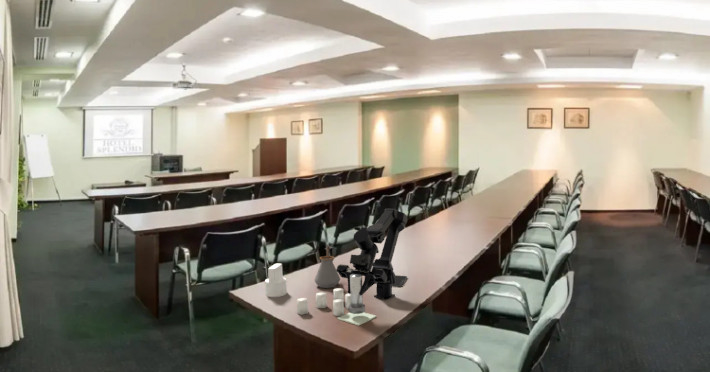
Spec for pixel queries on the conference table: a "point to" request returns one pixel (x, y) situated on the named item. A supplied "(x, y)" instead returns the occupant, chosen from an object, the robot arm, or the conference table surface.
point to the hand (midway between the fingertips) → (354, 294)
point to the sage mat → (356, 318)
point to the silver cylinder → (356, 294)
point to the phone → (399, 280)
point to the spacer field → (321, 302)
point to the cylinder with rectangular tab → (275, 282)
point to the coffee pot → (327, 272)
